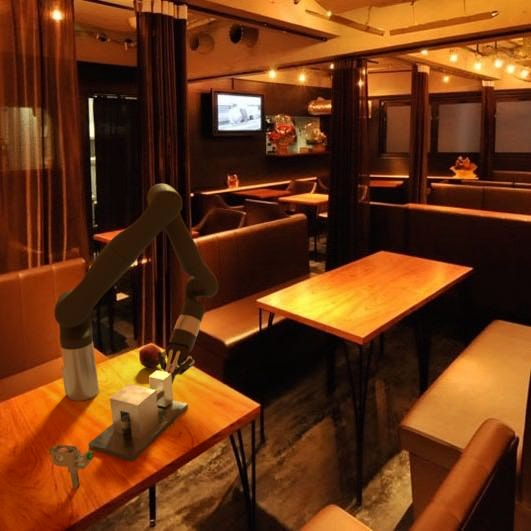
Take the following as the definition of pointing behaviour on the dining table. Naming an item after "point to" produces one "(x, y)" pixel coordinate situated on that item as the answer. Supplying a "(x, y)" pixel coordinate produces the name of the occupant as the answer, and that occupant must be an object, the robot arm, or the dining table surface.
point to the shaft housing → (135, 422)
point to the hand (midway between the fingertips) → (166, 386)
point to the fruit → (149, 356)
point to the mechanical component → (71, 460)
